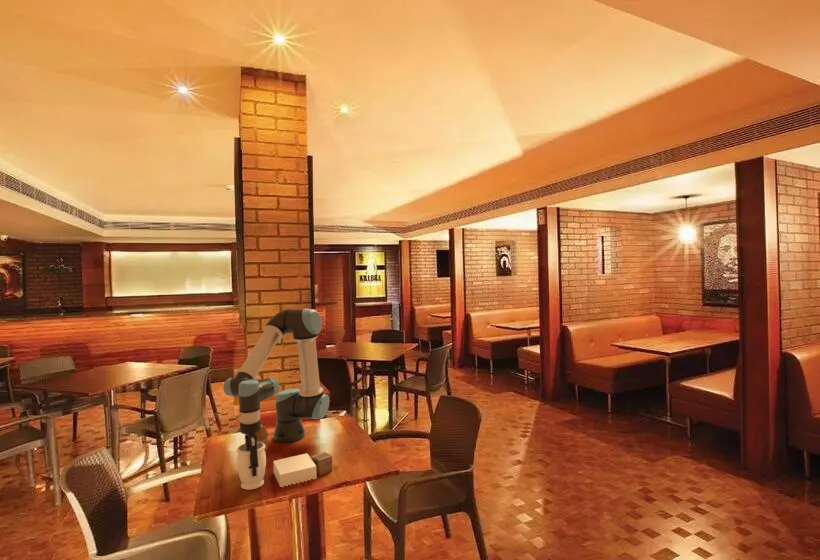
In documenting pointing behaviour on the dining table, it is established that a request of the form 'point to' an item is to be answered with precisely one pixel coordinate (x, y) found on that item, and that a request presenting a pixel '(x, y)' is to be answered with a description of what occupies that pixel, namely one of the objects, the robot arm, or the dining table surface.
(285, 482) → the cream block
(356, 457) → the dining table surface
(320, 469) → the walnut cube
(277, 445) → the dining table surface
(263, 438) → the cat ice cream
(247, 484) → the jar
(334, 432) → the dining table surface
